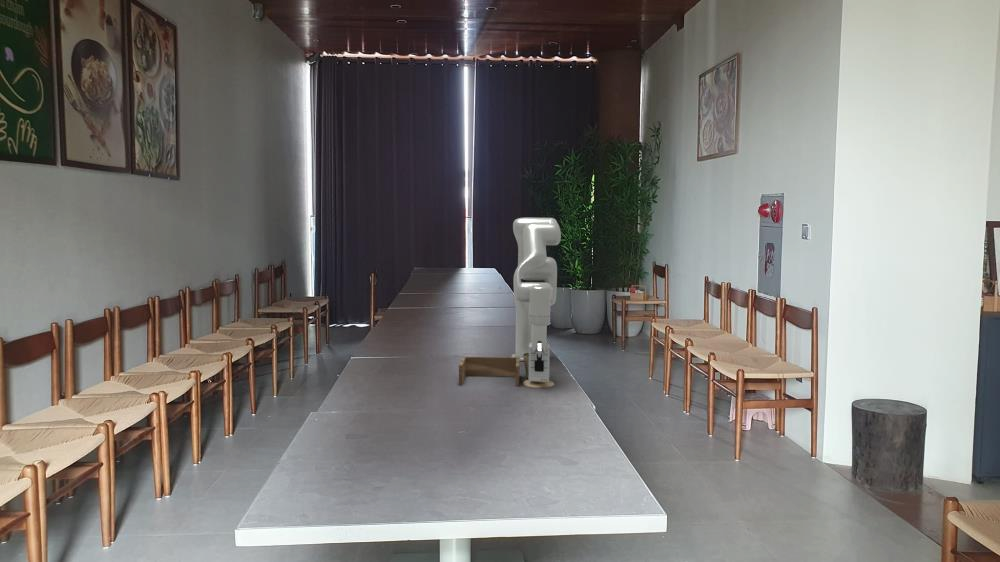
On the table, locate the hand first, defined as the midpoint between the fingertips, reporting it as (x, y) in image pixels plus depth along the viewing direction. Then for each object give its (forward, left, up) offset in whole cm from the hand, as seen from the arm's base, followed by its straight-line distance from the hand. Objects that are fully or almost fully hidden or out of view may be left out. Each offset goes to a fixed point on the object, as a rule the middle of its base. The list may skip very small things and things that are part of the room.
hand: (538, 368), depth 269 cm
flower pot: (-4, -10, -6) cm, 12 cm away
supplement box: (0, 0, -4) cm, 4 cm away
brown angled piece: (+13, -13, -6) cm, 19 cm away
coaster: (0, 0, -6) cm, 6 cm away
